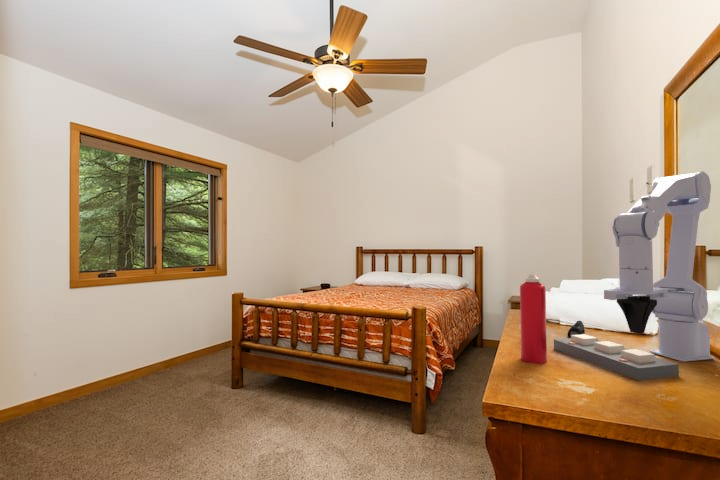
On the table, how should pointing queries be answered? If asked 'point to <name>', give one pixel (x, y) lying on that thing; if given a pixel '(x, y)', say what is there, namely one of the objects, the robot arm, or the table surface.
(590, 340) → the key
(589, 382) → the table surface
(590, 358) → the key panel
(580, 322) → the electric trimmer
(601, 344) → the key middle
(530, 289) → the bottle
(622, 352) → the key
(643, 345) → the table surface
